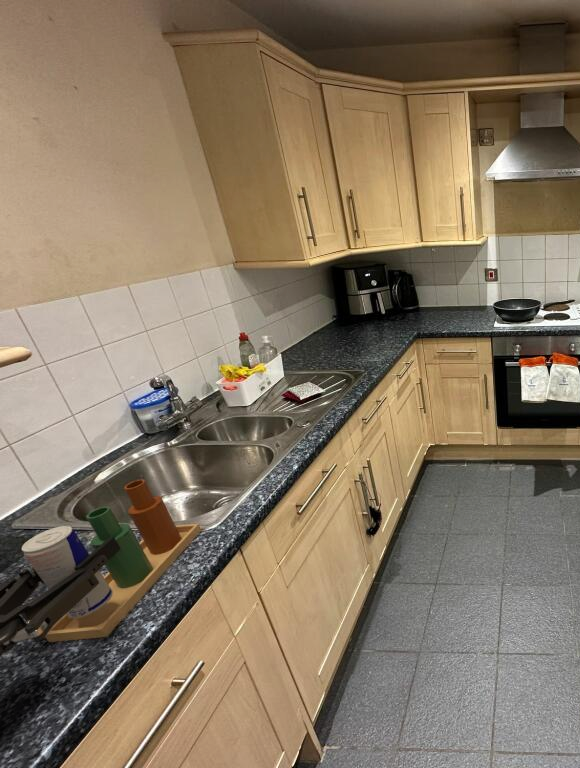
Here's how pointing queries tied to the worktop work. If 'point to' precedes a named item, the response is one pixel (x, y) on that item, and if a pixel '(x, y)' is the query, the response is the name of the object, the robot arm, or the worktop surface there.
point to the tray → (120, 596)
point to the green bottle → (130, 559)
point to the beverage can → (64, 565)
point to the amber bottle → (152, 518)
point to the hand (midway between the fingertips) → (96, 545)
